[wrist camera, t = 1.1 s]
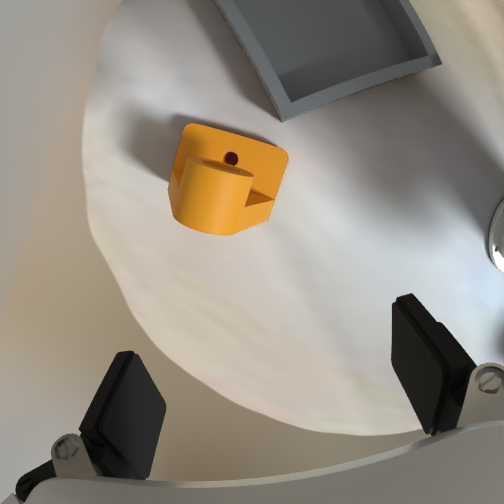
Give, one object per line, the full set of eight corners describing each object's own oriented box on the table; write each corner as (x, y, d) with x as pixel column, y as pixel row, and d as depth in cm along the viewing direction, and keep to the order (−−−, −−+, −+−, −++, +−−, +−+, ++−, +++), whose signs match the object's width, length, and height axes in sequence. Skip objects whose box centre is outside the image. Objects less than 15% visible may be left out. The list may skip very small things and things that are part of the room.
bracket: (289, 150, 32) (302, 157, 21) (268, 213, 34) (269, 252, 23) (191, 122, 31) (154, 116, 20) (174, 185, 34) (132, 210, 22)
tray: (339, -61, 21) (347, -81, 17) (421, 70, 27) (442, 64, 23) (201, -19, 25) (192, -39, 20) (281, 122, 31) (284, 119, 26)
